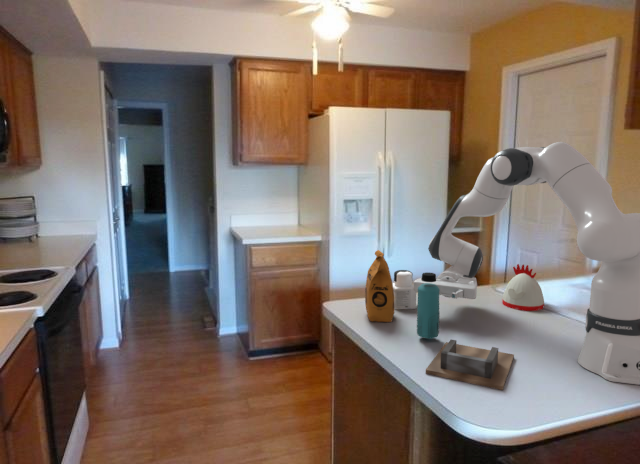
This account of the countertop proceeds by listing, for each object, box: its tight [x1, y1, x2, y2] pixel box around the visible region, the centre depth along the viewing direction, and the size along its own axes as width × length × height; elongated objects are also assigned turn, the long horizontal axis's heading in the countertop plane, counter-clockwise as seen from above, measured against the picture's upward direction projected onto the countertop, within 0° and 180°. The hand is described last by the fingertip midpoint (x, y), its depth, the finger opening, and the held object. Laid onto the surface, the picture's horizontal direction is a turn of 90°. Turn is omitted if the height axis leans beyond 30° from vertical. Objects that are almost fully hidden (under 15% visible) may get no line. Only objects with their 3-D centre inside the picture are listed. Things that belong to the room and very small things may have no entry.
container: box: [392, 269, 417, 310], centre depth 167 cm, size 8×8×13 cm
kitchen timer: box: [501, 263, 545, 312], centre depth 168 cm, size 14×14×15 cm
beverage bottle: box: [416, 272, 441, 339], centre depth 135 cm, size 6×7×20 cm
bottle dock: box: [425, 339, 515, 391], centre depth 119 cm, size 18×20×5 cm
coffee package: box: [364, 249, 395, 323], centre depth 155 cm, size 10×12×22 cm
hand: (438, 293), depth 145 cm, fingers open, 8 cm apart
